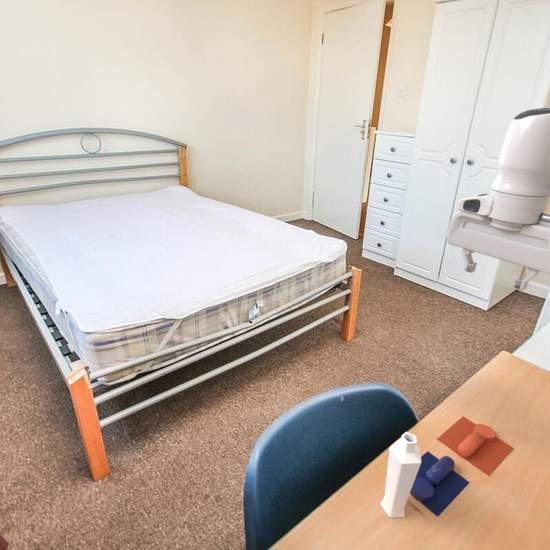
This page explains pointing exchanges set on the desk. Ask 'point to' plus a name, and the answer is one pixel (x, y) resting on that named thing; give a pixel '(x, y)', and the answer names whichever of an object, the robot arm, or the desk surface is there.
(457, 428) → the terracotta mat
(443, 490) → the navy mat
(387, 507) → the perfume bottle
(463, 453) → the orange stubby capsule part
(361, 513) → the desk surface
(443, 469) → the navy bulbous segmented part
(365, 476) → the desk surface
